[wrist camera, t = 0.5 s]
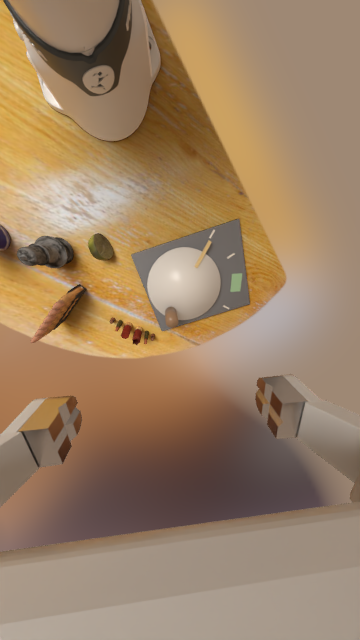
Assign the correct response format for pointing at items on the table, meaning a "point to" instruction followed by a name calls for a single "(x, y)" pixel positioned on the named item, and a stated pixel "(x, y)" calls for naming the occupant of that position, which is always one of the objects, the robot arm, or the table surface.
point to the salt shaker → (46, 252)
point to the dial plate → (221, 251)
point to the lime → (100, 247)
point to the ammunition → (136, 334)
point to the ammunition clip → (59, 312)
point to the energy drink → (4, 239)
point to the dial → (183, 284)
